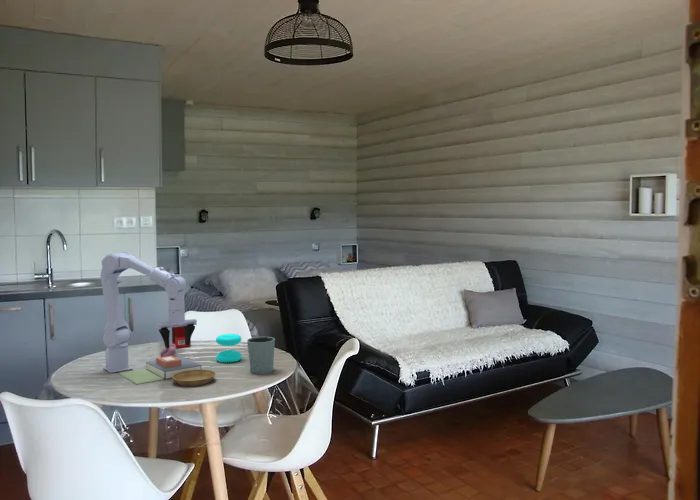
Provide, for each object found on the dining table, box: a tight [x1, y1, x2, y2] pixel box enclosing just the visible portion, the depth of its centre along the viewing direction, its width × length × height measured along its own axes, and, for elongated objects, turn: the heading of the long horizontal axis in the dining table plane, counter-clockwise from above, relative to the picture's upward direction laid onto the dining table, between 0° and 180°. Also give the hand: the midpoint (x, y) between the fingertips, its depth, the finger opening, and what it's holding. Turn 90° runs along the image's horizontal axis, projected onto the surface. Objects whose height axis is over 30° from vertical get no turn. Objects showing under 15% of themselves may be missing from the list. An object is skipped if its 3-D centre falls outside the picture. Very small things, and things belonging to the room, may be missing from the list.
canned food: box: [171, 325, 192, 349], centre depth 267 cm, size 8×8×11 cm
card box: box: [155, 356, 181, 368], centre depth 222 cm, size 9×6×2 cm, turn 39°
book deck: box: [145, 355, 203, 380], centre depth 224 cm, size 18×14×3 cm
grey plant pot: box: [246, 336, 276, 375], centre depth 224 cm, size 10×10×12 cm
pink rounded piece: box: [160, 343, 178, 357], centre depth 245 cm, size 10×5×7 cm, turn 22°
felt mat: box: [118, 368, 164, 386], centre depth 217 cm, size 18×9×1 cm, turn 39°
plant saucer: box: [171, 369, 217, 387], centre depth 210 cm, size 15×15×3 cm
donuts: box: [215, 333, 243, 364], centre depth 241 cm, size 10×10×10 cm
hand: (177, 346), depth 221 cm, fingers open, 7 cm apart
